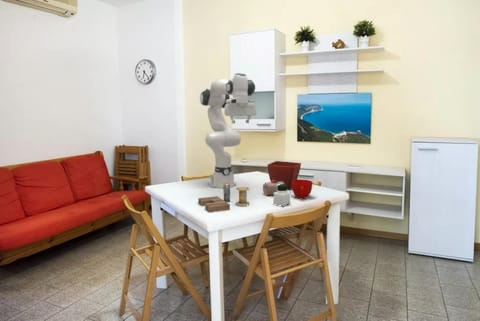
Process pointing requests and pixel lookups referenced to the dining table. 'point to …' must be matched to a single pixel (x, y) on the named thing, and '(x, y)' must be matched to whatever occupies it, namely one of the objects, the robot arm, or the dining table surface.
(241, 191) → the tan spool
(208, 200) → the notch board
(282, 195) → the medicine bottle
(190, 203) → the dining table surface
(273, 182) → the food item
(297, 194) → the ceramic cup
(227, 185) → the gold lidded spice jar
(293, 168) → the plant pot
